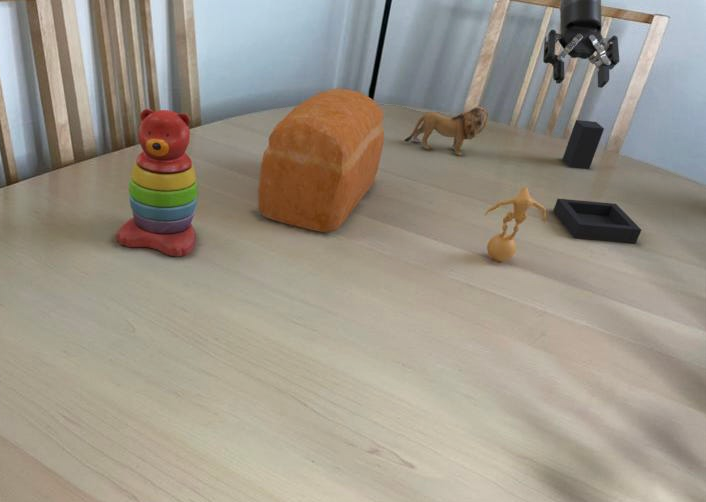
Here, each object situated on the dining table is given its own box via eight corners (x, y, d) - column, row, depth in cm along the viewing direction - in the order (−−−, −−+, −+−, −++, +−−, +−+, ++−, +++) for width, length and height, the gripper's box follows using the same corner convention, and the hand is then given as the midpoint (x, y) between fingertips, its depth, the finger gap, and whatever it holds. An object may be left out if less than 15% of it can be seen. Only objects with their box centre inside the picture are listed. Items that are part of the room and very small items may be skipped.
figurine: (523, 256, 110) (549, 180, 103) (532, 276, 105) (561, 197, 98) (467, 250, 111) (489, 173, 104) (473, 269, 106) (498, 190, 99)
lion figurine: (477, 149, 149) (489, 104, 144) (479, 159, 144) (492, 112, 139) (403, 139, 150) (413, 94, 145) (403, 147, 146) (413, 101, 141)
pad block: (581, 161, 148) (596, 121, 144) (589, 168, 145) (604, 128, 141) (562, 159, 148) (575, 119, 144) (569, 167, 145) (583, 126, 140)
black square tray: (610, 216, 126) (616, 203, 125) (635, 243, 118) (641, 229, 116) (552, 211, 126) (557, 198, 124) (573, 238, 117) (579, 224, 116)
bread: (379, 181, 130) (398, 89, 121) (336, 238, 110) (354, 134, 101) (305, 163, 134) (318, 74, 125) (250, 216, 114) (260, 113, 105)
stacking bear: (111, 244, 103) (110, 115, 92) (138, 215, 111) (140, 95, 101) (185, 259, 101) (192, 130, 91) (207, 229, 109) (216, 108, 99)
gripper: (554, -6, 146) (554, 70, 143) (625, 1, 147) (627, 76, 144) (537, 18, 154) (537, 90, 151) (605, 24, 154) (606, 96, 151)
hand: (581, 83), depth 147 cm, fingers open, 8 cm apart
